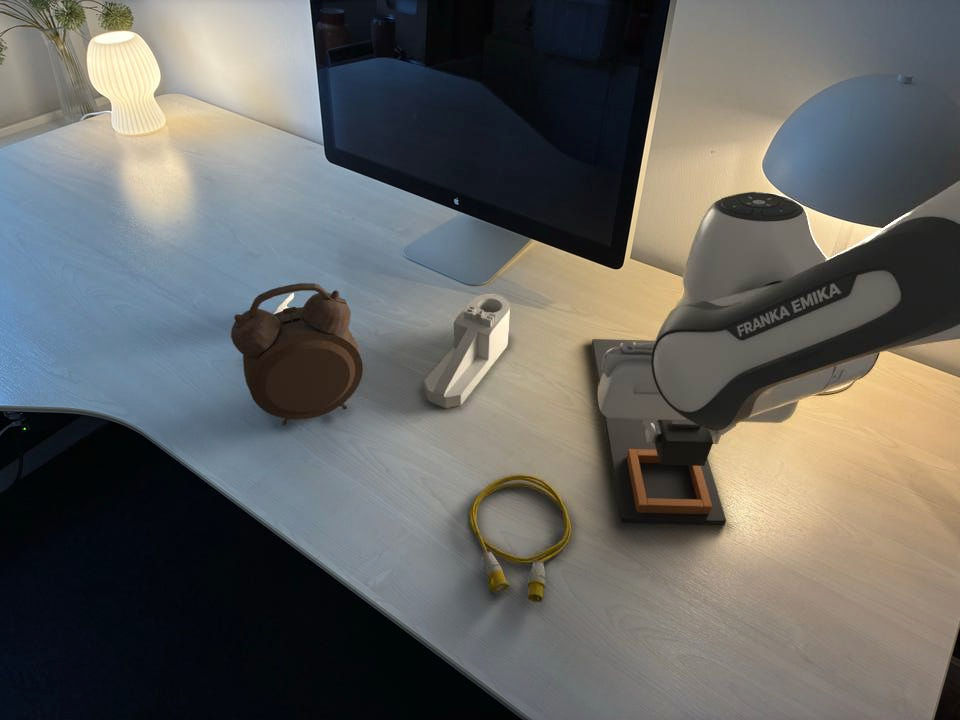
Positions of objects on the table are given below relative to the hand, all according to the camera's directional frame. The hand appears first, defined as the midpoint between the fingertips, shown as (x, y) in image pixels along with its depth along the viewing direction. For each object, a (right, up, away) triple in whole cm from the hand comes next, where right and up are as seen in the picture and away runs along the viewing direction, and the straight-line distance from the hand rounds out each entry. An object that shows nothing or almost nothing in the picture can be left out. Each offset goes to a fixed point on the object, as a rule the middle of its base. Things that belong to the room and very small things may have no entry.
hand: (681, 439), depth 76 cm
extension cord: (-19, -11, +1) cm, 22 cm away
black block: (0, -1, +1) cm, 2 cm away
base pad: (0, 0, +14) cm, 14 cm away
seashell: (-53, +14, +28) cm, 62 cm away
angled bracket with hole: (-24, +8, +22) cm, 34 cm away
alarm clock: (-45, +2, +15) cm, 48 cm away
